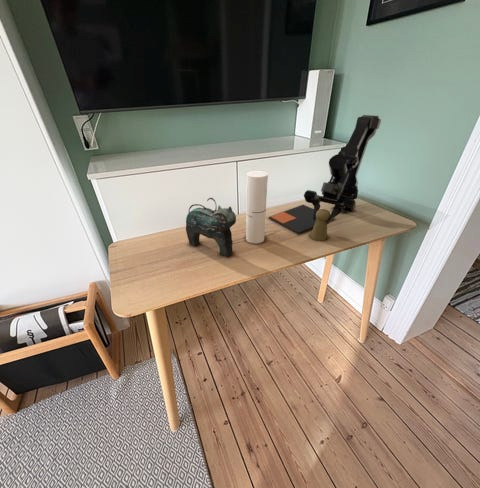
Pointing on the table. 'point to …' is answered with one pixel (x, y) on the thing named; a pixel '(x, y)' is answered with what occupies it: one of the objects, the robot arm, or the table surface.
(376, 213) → the table surface
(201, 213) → the ceramic cat
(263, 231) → the cylindrical container
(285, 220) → the rubber mat
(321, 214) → the cork
